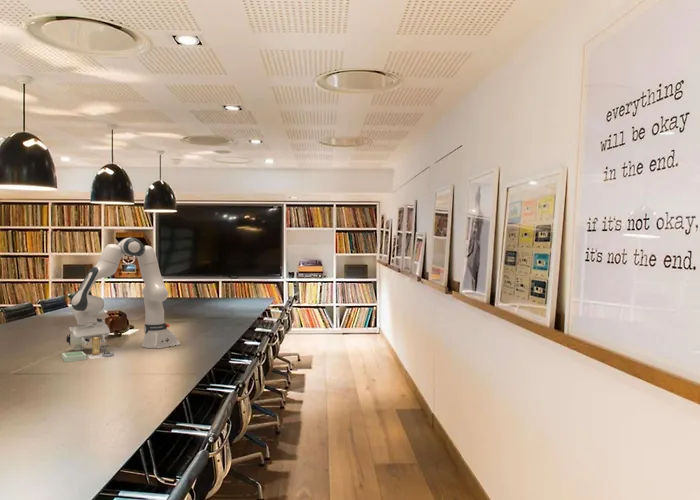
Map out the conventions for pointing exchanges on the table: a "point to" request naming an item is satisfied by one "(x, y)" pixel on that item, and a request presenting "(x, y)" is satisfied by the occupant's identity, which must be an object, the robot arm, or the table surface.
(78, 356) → the tray
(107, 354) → the crank jig
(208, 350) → the table surface
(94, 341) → the amber drinking glass
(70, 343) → the pneumatic valve
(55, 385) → the table surface
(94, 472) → the table surface
